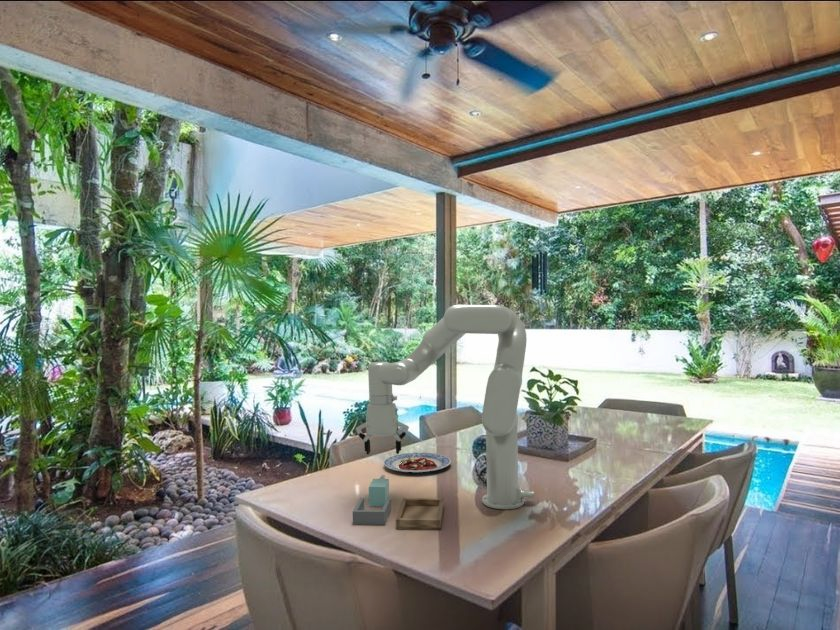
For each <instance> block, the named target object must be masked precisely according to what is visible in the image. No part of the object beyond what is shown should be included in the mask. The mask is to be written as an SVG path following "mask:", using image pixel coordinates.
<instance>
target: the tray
mask: <svg viewBox="0 0 840 630" xmlns="http://www.w3.org/2000/svg"><path fill="white" fill-rule="evenodd" d="M443 514H444V498H432V497H431V498H424V497H423V498H418V497H417V498H416V497H415V498H412V497H411V498H410V497H409V498H407V497H403V499H402V501H401V505H400V507H399V510H398V512H397V516H396V518H395V529H396V530H436V529H437V531H438V530H441V528H442V522H443Z"/></svg>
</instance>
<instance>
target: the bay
mask: <svg viewBox="0 0 840 630" xmlns="http://www.w3.org/2000/svg"><path fill="white" fill-rule="evenodd" d="M391 499H392V498H391V497H389V498H387V500H386V502H385V504H384V506H383V507H382V509H381V510H376V509H375V510H372V509H370V510H365V497H360V499H359V500H358V502H357V504H356V505H355V507H354V508H353V510H352V525H373V526H374V525H380V526H382V525H383V526H384V525H386V523H387V520H388V518H389V516H390V513H391V510H392V503H391V501H392V500H391Z"/></svg>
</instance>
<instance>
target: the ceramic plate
mask: <svg viewBox="0 0 840 630" xmlns="http://www.w3.org/2000/svg"><path fill="white" fill-rule="evenodd" d="M399 462H400V463H401V462H402V463H401V464H399V465H398V466H399V468H400V469H398V468H396V464H397V463H399ZM451 463H452V460H451V458H449V457H448V456H446V455H443V454H439V453H433V452H409V453H407V452H406V453H399V454H396V455H393V456H390V457H388V458H386V459H385V460H384V461H383V465H384V466H385V467H386V468H387V469H390V470H393V471H396V472H401V473H407V472H412V473H411V474H424V473H423V472H425V473H429V472H430V471H431V472H433V471H439V470H442V469H444V468H447V467H448V466H449V465H451Z"/></svg>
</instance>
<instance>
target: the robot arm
mask: <svg viewBox="0 0 840 630" xmlns="http://www.w3.org/2000/svg"><path fill="white" fill-rule="evenodd" d="M526 331H527V330H526V327H525V324H524V323H523V321H522V319H521V318H520V317H519V316H518V315H517V314H516V312H514V311H513V310H511V309H510V308H508V307H506V306H504V305H500V304H459V303H458V304H453V305H451V306H449V307H448V308H447V309H446V311H444V314H443V317H442V318H441V319H439V320H438V321H437V322H436V323H435V324H434V325H433V326H432V327H431V328H429V330H428V331H426V332H425V333H424V334H423V337H422V339H421V342H420V343H419V344H418V345H417V346H416V348H415V349H413V350H412V352H410V354H409V355H407V356H406V357H405V358H404V359H403V360H399V361H396V362H388V361H375V362H374V361H373V362H370V363H369V364H368V366H367V370H368V372H367V375H368V395H369V396H368V398H369V403H368V404H367V406H366V407H367V408H366V416H365V420H366V421H365V422H364V423H362V424H360V425H358V426H356V428H355V432H356V433H357V434H358V437H359V438H361V440H362V441H363V443H364V451H365V452H366V455H370V453H371V440H370V438H371V437H388V436H391V437H392V436H393V437H394V438H395V439H396V440H395V453H396V455H400V451H402V440H403V438H404V437H406V435H407V433H408V431H409V428H410V427H409V425H407V424H405V423H402V422H401V421H399V415H398V409H397V405H396V403H395V402H394V401H397V400H398V395H394V394H393V385H394V386H405V385H407V384H409V383H411V382H413V381H414V380H416V379H417V378H418V377H420V376H421V375H422V374H423V373H424V372H425V371H426V370H427V369H428V368H429V367H430V366H432V365H433V363H434V362H436V361H437V360H439V359H440V358H441V357H442V356H443V354H445V353H446V352H447V351H448V350H450V348H451V347H452V346H453V345H454V344H456V343H457V342H458V341H459V340H460V339H461V338H462V337H464V335H465V334H473V335H474V334H476V335H477V334H479V335H481V334H484V335H485V334H486V335H488V334H489V335H497V337H498V344H497V349H496V355H495V356H496V357H495V362H494V365H493V368H492V369H493V370H491V372H490V374H489V376H488V378H487V382H486V387H485V394H484V398H483V399H484V400H483V407H482V411H481V412H482V413H481V424H482V426H483V429H484V430H485V431H486V432H485V440H486V441H485V448H486V449H485V454H486V455H485V456H486V457H485V458H486V459H485V460H486V494H484V495H483V496H482V499H481V501H482V503H483V505H485V506H487V507H489V508H490V509H491V508H492V509H496V510H513V509H517V508H521V507H522V506H524V504H525V498H529V499H534V498H535V497H536V496H535V491H534V490H530V489H529V488H528V489H522V488H521V487H520V484H519V454H518V453H519V452H518V451H519V447H518V446H519V445H518V427H519V425H518V424H519V423H518V421H519V420H518V410H517V409H518V405H519V399H520V393H521V388H522V384H523V371H524V366H525V365H524V364H525V356H526V350H527V332H526ZM399 428H401V429H403V431H402V433H399ZM363 429H365V433H366V434H365V433H363V432H362V430H363Z"/></svg>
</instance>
